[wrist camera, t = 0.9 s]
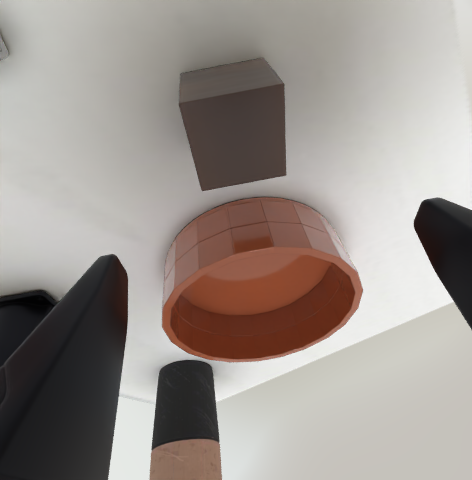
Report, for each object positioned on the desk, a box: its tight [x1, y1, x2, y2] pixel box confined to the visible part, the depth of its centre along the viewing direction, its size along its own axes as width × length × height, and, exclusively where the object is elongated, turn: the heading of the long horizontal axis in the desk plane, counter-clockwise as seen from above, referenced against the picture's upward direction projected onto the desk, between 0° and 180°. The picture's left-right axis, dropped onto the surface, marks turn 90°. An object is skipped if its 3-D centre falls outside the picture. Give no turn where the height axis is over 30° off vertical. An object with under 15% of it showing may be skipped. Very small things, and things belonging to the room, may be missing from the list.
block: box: [179, 58, 286, 191], centre depth 15 cm, size 4×4×4 cm
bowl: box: [162, 197, 363, 362], centre depth 25 cm, size 15×15×5 cm
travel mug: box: [150, 361, 222, 480], centre depth 33 cm, size 8×8×20 cm
